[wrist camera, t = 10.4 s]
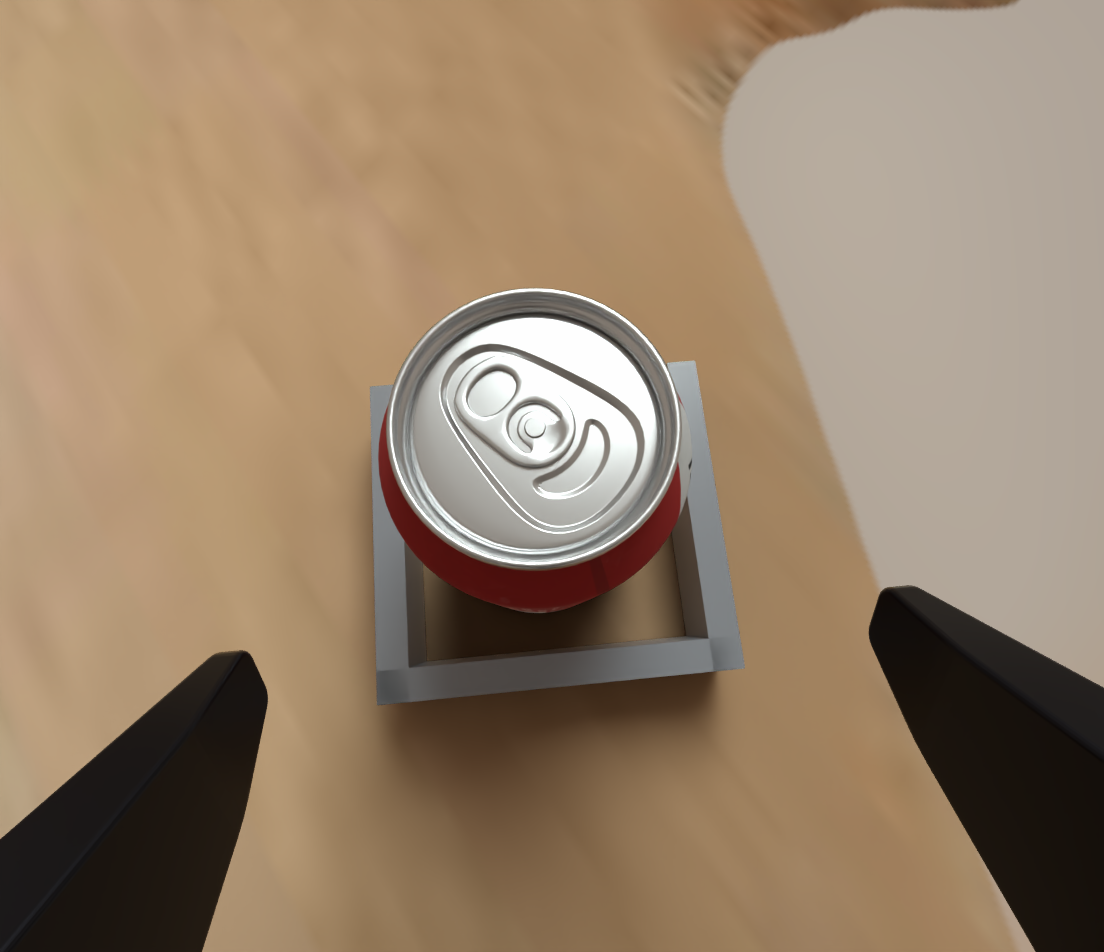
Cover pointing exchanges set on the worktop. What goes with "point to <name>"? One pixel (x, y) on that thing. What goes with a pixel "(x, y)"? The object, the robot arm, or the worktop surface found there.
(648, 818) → the worktop surface
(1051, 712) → the robot arm
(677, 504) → the soda can
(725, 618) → the gray bracket
